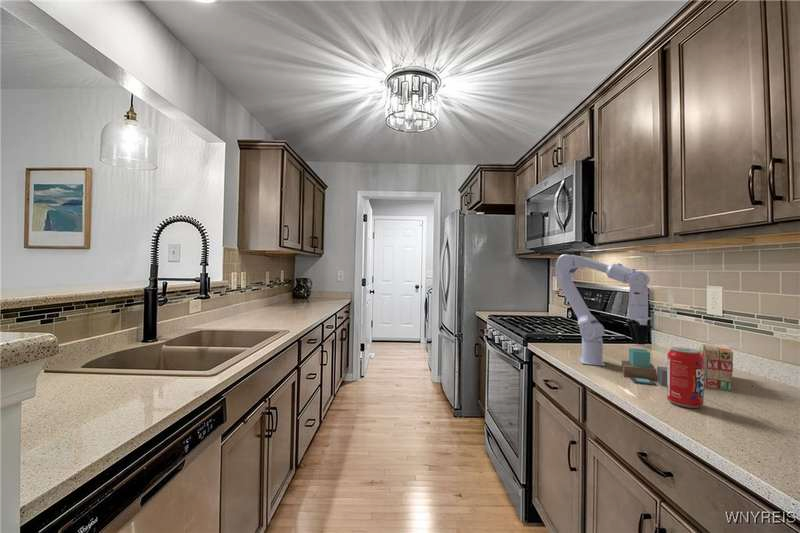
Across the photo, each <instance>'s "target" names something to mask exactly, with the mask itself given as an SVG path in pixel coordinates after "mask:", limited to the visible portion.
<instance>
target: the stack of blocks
mask: <svg viewBox="0 0 800 533" xmlns="http://www.w3.org/2000/svg"><path fill="white" fill-rule="evenodd" d="M699 351H701V355H702V356H703V357H704V387H705V388H709V389H714V390H715V389H716V390H721V391H729V392H733V372H734V362H733V361H734V352H733V350H732V349H731V348H730V346H728V345H727V344H722V343H721V344H719V343H708V342H702V346H700V347H699Z"/></svg>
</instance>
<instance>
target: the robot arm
mask: <svg viewBox="0 0 800 533" xmlns="http://www.w3.org/2000/svg"><path fill="white" fill-rule="evenodd" d="M554 265H555V268H556V270H555V271H556V281H557V284H558V286H559V288H560V290H561V291H562V292H563V294H564V297H565V298H566V300H567V301H568V303H569V305H570V307H571V308H572V310H573V312H574V315H575V316H576V317H577V318H576V319H577V326H578V327H579V333H580V336H581V356H580V357H579V361H580V363H581V364H582V365H591V366H600V367H605V366H606V364H605V362H604V361H603V357H604V356H603V355H604V354H603V353H604V352H603V351H604V347H603V346H604V345H603V344H604V339H603V338H602V337H603V336H604V334H605V327H604V326H603V324H602V323H600V322H599V321H598V319H597V318H596V317H595V316H594V315H593V314H591V311H590V309H589V308H588V306H587V304H586V302H585V301H584V299H583V297H582V294H580V292H579V290H578V288H577V287H576V285H575V282H574V281H573V279H572V278H573V276H574V274H575V272H576V271H578V269H579V268H588V269H592V270H595V271H598V272H600V273H605V274H606V277H607V278H609V279H611V280H615V281H617V282H620V283H622V284H628V285H629V292H628V293H629V294H628V296H629V297H628V298H629V300H628V302H629V303H628V304H629V305H628V308H629V309H628V319H629V320H626V324H627V325H628V328H629V331H630V337H631V340H632V341H636V343H637V345H642V346H645V344H646V342H647V339H648V334H649V332H650V330H651V329H653V328H652V327H653V326H652V325H649V324H648V321H649V320H650V321H652V320H653V317H649V292H648V291H649V287H648V284H649V283H650V277H649V275H648V274H647V273H646V272H644V271H643V270H642V271H640V270H639V271H636V270H637V269H636V268H633V267H632V268H629V267H626V266H623V264H622V263H619V262H618V263H612V264H610V265H609V264H606V263H603V262H601V261H599V260H595V259H592V258H589V257H585V256H580V255H576V254H568V253H564V254H561V255H560V256H559V257H558V258H557V260H556V262H555V264H554Z"/></svg>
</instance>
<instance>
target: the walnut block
mask: <svg viewBox="0 0 800 533" xmlns="http://www.w3.org/2000/svg"><path fill="white" fill-rule="evenodd" d="M621 372H622V375H623V377H625V378H630V377H636V378H646V379H652V380H653V381H654V382H657V368H655V366H654V365H653V364H652V363H651V362H650V367H638V366H632V365H631V364H630V363H629V360H621Z"/></svg>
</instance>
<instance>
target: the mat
mask: <svg viewBox="0 0 800 533" xmlns="http://www.w3.org/2000/svg"><path fill="white" fill-rule="evenodd" d="M629 378H630V380H631V381H632V382H633V383H634V384H640V385H646V384H647V386H655V387H656V386H658V385H657V383H656V381H654V380H652V379H646V378H636V377H629Z"/></svg>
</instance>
